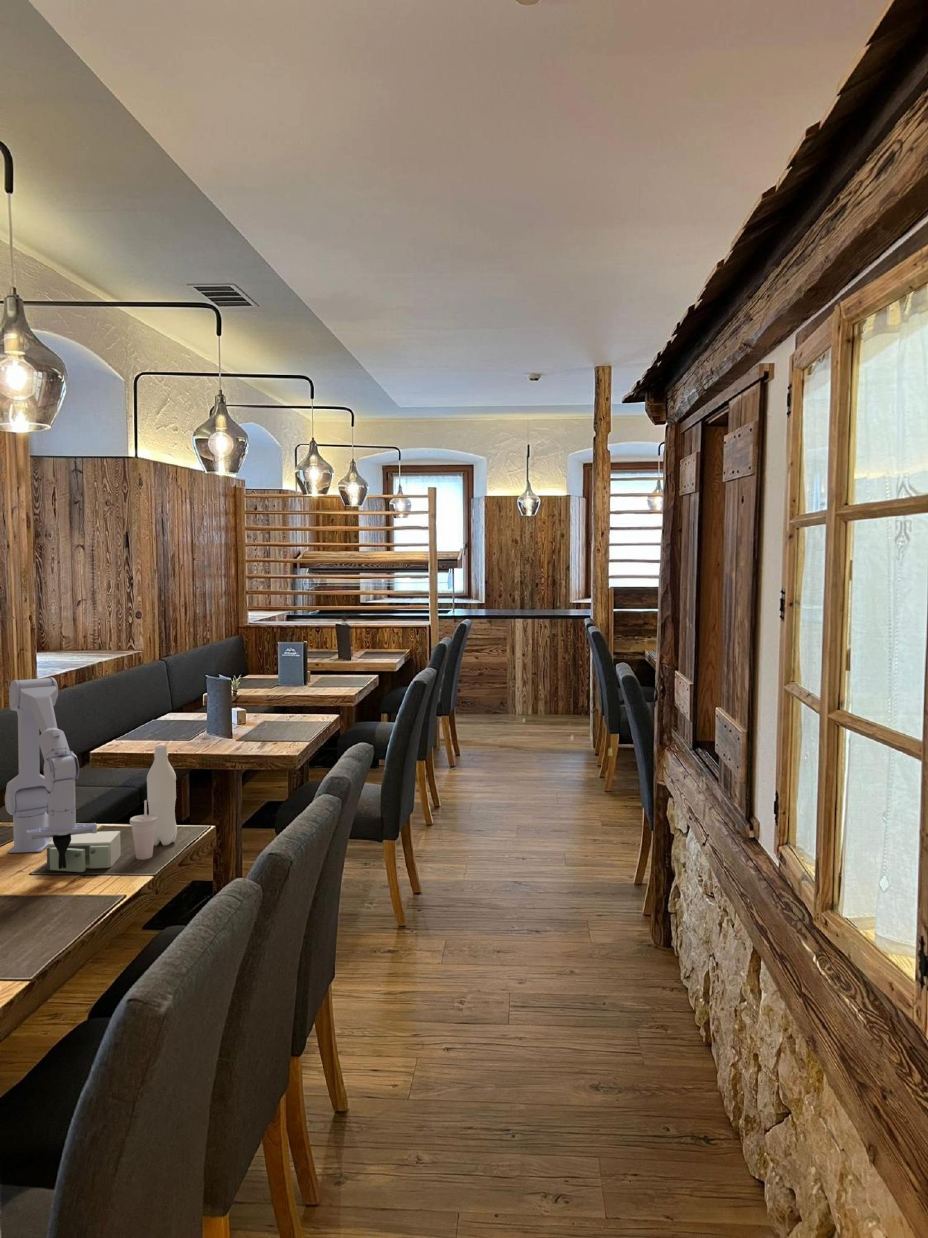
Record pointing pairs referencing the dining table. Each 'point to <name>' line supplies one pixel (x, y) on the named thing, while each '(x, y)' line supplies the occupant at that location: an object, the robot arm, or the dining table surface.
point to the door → (72, 856)
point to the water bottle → (162, 796)
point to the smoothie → (143, 833)
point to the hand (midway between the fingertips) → (62, 867)
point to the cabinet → (97, 848)
